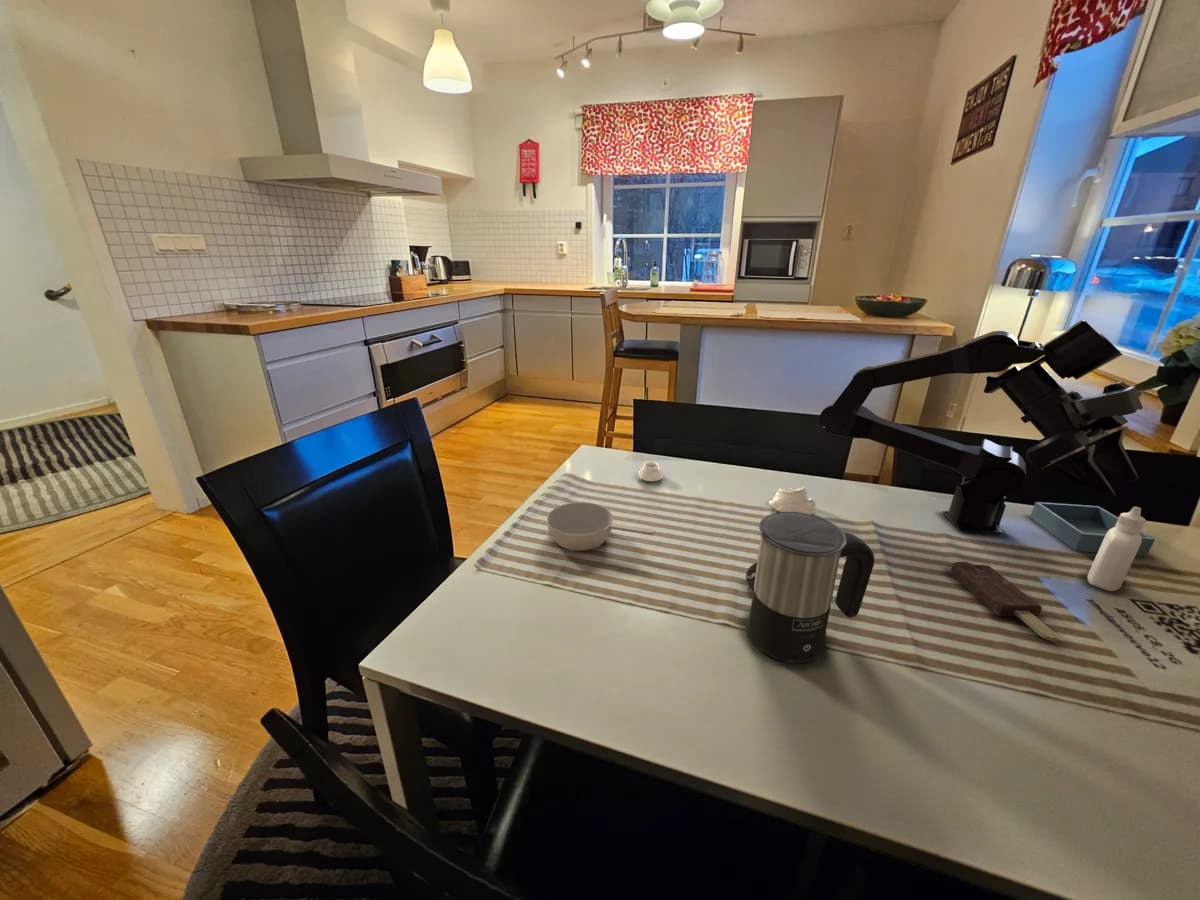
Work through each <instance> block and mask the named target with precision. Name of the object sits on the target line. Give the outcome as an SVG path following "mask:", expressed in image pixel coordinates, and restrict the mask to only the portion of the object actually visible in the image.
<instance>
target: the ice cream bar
mask: <svg viewBox="0 0 1200 900" xmlns="http://www.w3.org/2000/svg"><path fill="white" fill-rule="evenodd" d="M949 571H950V575H951V576H952V577H953V578H954V580H956V581H958V582H959V583H960V584H961V585H962V586H963V587H964V588H965V589H966V590H967V591H969V593H971V594H972V595H973V596H974V597H976V598H977V600H979V601H980V602H981V603H983V604H984V605H985V606H986V607H987V608H988V609H989V610H990V611H992V613H994V614H995V615H996V616H998V617H1015V616H1016V617H1017V618H1018V619H1020V620H1021V621H1022V622H1023V623H1024V624H1025V625H1027V626H1028V627H1029V628H1031V629H1032V631H1034V632H1035V633H1037V635H1039V636H1040V637H1041V638H1043V639H1044V640H1046V641H1047V640H1048V641H1051V642H1055V641H1057V639H1058V634H1057V633H1056V632H1055V631H1054V630H1053V629H1052V628H1050V627H1049V626H1048V625H1046V624H1045V623H1044V622H1043V621H1042V620H1040V619H1039V618H1038V617H1039V616H1040V615H1041V612H1042V609H1043V607H1042V606H1041V604H1039V603H1038V602H1037V601H1036V600H1034V599H1033V598H1032V597H1030V596H1029V595H1028V594H1026V593H1025V592H1024V591H1022V590H1021V589H1020V588H1019V587H1017V586H1016V585H1015V584H1013V583H1012V582H1011V581H1009V580H1008V579H1007V578H1006V577H1005V576H1003V575H1001V573H999V572H998V571H996V570H995V569H994V568H993V567H991V566H990V565H987V564H974V563H971V562H968V561H955V562H953V563H952V564H951V567H950V570H949ZM1037 616H1038V617H1037Z"/></svg>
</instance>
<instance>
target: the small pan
mask: <svg viewBox="0 0 1200 900" xmlns="http://www.w3.org/2000/svg"><path fill="white" fill-rule="evenodd" d="M546 523H547V525H546V526H547V530H548V533H549V534H550V536H551V537H552V538H553V539H554V541H555V543H556V544H557V545H558V546H559V547H561V548H563V549H566V550H570V551H578V552H579V551H581V552H582V551H589V550H593V549H596V548H598V547H600V546H601V545H603V544H604V542H605V541H606V539H607V538H608V537H609V535H610V533H611V531H612V530H617V531H622V532H628V533H634V534H641V535H647V536H653V535H655V534H656V530H655V529H653V528H646V527H639V526H634V525H627V524H620V523H614V516H613V514H612V512H611V511H610V510H609V509H608V508H606V507H604V506H602V505H600V504H596V503H591V502H583V501H582V502H580V501H579V502H570V503H565V504H561V505H559V506H556V507H555V508H553V509H552V510H551V511H549V513H548V514H547V516H546Z"/></svg>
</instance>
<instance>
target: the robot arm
mask: <svg viewBox="0 0 1200 900" xmlns="http://www.w3.org/2000/svg"><path fill="white" fill-rule="evenodd" d="M1123 354H1124V353H1122V352H1121V351H1120V350H1119V349H1118V348H1117V347H1116V346H1115V345H1114V344H1113V343H1112V342H1111V341H1110V340H1109V339H1108V338H1106V336H1105V335H1104V334H1102V333H1099V332H1097V331H1096V330H1095V328H1094V327H1092V326H1091V325H1090V323H1088V322H1087V321H1086V320H1085V319H1081V320H1079V321H1077V322H1076V323H1074V324H1073V325H1071V326H1070V327H1069V329H1067V330H1066V331H1064V332H1062V333H1061V334H1059V335H1057V336H1055V337H1053V339H1051V340H1049V341H1047V342H1046V343H1041V342H1037V341H1029V340H1028V341H1027V340H1022V339H1018V338H1017V337H1016V336H1015V335H1013V334H1012V333H1009V332H1008V331H1005V330H995V331H994V330H993V331H990V332H987V333H984V334H981V335H979V336H977V337H974V338H972V339H968V340H966V341H964V342H962V343H959V344H957V345H955V346H952V347H950V348H947V349H944V350H940V351H934V352H931V353H927V354H923V355H919V356H914V357H909V358H904V359H900V360H895V361H891V362H887V363H882V364H879V365H874V366H865V367H863V368H860V369H859V370H857V371H856V372H855V373H854V374H853V376H852V379H851V380H850V382H849V383H848V385H847V386H846V387H845V388H844V389H843V391H842V392H841V393H840V395H838V397H837V399H836V400H834V401H833V402H832V403H830V404H829V405H828V406H826V407H825V408H824V409H822V411H821V412H820V414H819V419H818V420H819V425H820V427H821V428H822V430H823V432H825V433H826V434H829V435H831V436H837V437H842V438H849V439H862V440H863V439H865V440H870V441H872V442H876V443H878V444H881V445H884V446H887V447H890V448H892V449H895V450H897V451H901V452H904V453H907V454H910V455H913V456H915V457H918V458H921V459H923V460H927V461H930V462H933V463H936V464H938V465H941V466H943V467H947V468H950V469H951V470H954V471H956V472H957V473H959V474H960V475H961V476H962V480H961V483H960V486H956V487H955V489H954V493H953V496H952V499H951V503H950V505H949V509H948V510H943V511H942V513H941V514H942V516H943V517H945V519H946V520H948V521H949V522H950V523H951V524H952V525H953V526H954V527H955V529H957V530H958V531H960V532H965V533H966V532H967V533H976V534H977V533H979V534H993V535H1002V532H1003V531H1002V530H1001V529H1000V528H999V526H1000V525H1001V521H1002V519H1003V516H1004V514H1005V513H1004V512H1005V510H1006V507H1007V505H1006V504H1005V502H1006V499H1007V497H1006V496H1007V495H1011V494H1014V493H1017V492H1019V491H1020V490H1021V489H1022V488H1024V486H1025V484H1026V483H1027V482H1026V481H1027V465H1026V462H1025V460H1024V458H1023V456H1022V455H1020V454H1019V453H1017V452H1015V451H1014V450H1013V446H1006V445H1000V444H997V443H995V442H993V441H991V440H989V439H986V438H984V439H982V442H981V445H968V444H962V443H961V442H956V441H953V440H950V439H947V438H944V437H941V436H938V435H935V434H932V433H929V432H926V431H922V430H920V429H917V428H914V427H910V426H907V425H905V424H901V423H898V422H896V421H892V420H889V419H885V418H884V417H880V416H878V415H877V414H876V413H874V412H873V411H872V410H870V409H868V408H867V407H866V406H864V403H865V402H866V400H867V399H868V397H869V396H870V394H871V393H872V391H873V390H874V389H878V388H884V387H889V386H893V385H898V384H903V383H908V382H913V381H917V380H922V379H928V378H932V377H933V378H934V377H938V376H943V375H951V374H952V375H953V374H966V375H967V374H969V375H970V374H971V375H973V374H974V375H975V374H989V373H1000V372H1002V373H1001V374H999V375H998V376H993V375H987V376H986V383H985V386H984V389H983V393H984V394H993V393H995V392H997V391H998V390H1002V391H1003V393H1004V394H1005V395H1006V396H1007V397H1008V398H1009V399H1010V400H1011V402H1012V403H1013V404H1014V405H1015V406H1016V407H1017V408H1018V409H1019V410H1020V412H1021V413H1022V414H1023V416H1021V417H1020V418H1019V419H1020V420H1021V421H1022V422H1023V423H1024V424H1026V423H1031V424H1032V425H1033V426H1034V427H1035V428H1036V430H1037V431H1038V432H1039V433H1040V434H1041V435H1042V436H1043V438H1040V439H1039V441H1040V442H1039V443H1037V444H1035V445H1033V446H1031V447H1029V448H1027V449H1026V454H1025V459H1026V460H1027V461H1028V463H1029V464H1030V465H1031V466H1032V467H1033V468H1034V469H1037V468H1039V467H1041V466H1043V465H1045V466H1043V467H1041V471H1043V472H1046V471H1047V472H1050V473H1051V474H1054V475H1056V476H1058V477H1060V478H1063V479H1065V480H1067V481H1069V482H1071V483H1073V484H1075V485H1078V486H1080V487H1082V488H1084V489H1086V490H1087V491H1090V492H1092V493H1094V494H1096V495H1098V496H1100V497H1102V498H1104V499H1109V498H1112V497H1114V496H1115V495H1116V493H1115V491H1114V489H1113V487H1112V486H1111V485H1110V483H1109V481H1108V479H1107V478H1106V477H1105V475H1104V474H1103V473H1102V470H1100V468H1099V467H1098V465H1100V466H1102V467H1103V468H1105V469H1106V470H1108V471H1110V472H1111V473H1113V474H1115V475H1116V476H1118V477H1120V478H1121V479H1123V480H1125V481H1127V482H1128V483H1131V482H1134V481H1136V480H1138V479H1139V476H1138V473H1137V472H1136V470H1135V468H1134V466H1133V463H1132V461H1131V459H1130V457H1129V455H1128V452H1127V451H1126V447H1125V446H1124V443H1123V440H1124V437H1125V434H1126V432H1127V431H1128V429H1129V428H1128V425H1126V424H1127V423H1129V421H1128V419H1127V418H1126V417H1125V416H1126V415H1128V416H1129V415H1132V414H1135V413H1137V411H1138V410H1139V411H1140V410H1143V408H1144V407H1143V404H1142V402H1141V399H1140V397H1141V396H1142V392H1141V391H1140V390H1137V388H1136V385H1133V386H1130V385H1128V384H1127V383H1126V382H1124V381H1123V380H1122V381H1117V382H1113V383H1109V384H1107V385H1105V386H1104V387H1103V391H1102V393H1096V394H1094V395H1088V396H1084V397H1083V396H1082V395H1081V394H1080V393H1079V392H1078V391H1074V390H1072V391H1069V392H1067V390H1065V388H1064V387H1063V386H1062V385H1061V384H1060V383H1059V382H1058V381H1057V380H1056V379H1055V378H1054V377H1053V375H1051V374H1050V373H1049V371H1048V370H1047V369H1046V368H1045V367H1044V366H1043V365H1042V364H1044V363H1045V364H1047V366H1048V367H1049V368H1050V369H1051V371H1053V372H1054V373H1055V374H1056V375H1057V376H1058V377H1059V378H1060V379H1062V380H1064V379H1066V378H1067V379H1071V378H1074V379H1075V380H1076V381H1077V380H1078V379H1079V380H1080V379H1081V378H1083V377H1084V376H1086V375H1089V374H1090V373H1092V372H1094V371H1096V370H1098V369H1099V368H1101V367H1103V366H1105V365H1107V364H1108V363H1110V362H1112V361H1114V360H1116V359H1117V358H1120V357H1121V356H1123ZM1021 364H1028V365H1026V366H1024V367H1022V368H1020V367H1019V366H1018V365H1021ZM1013 365H1014V366H1013ZM1012 366H1013V367H1012ZM1005 370H1006V371H1005ZM1003 371H1004V372H1003ZM1124 425H1126V426H1124ZM1122 426H1123V427H1122ZM1120 427H1121V428H1120ZM1117 428H1119V429H1117ZM1116 429H1117V430H1116ZM1048 463H1049V464H1048ZM1046 464H1047V465H1046ZM1097 464H1098V465H1097Z"/></svg>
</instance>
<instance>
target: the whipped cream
mask: <svg viewBox="0 0 1200 900" xmlns="http://www.w3.org/2000/svg"><path fill="white" fill-rule="evenodd" d="M768 505H770V506H771V507H773V508H774V509H775V511H778V512H801V513H805V514H810V515H814V512H815V508H816V501H815V499H814V498H813V497H808V493H807V489H806V488H805V487H804V486H803V487H800V488H796V489H795V488H792V487H791V488H788V487H780V488H779V489H778V490H777V491H776V493H775V495H774V497H772V500H769V501H768Z"/></svg>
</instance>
